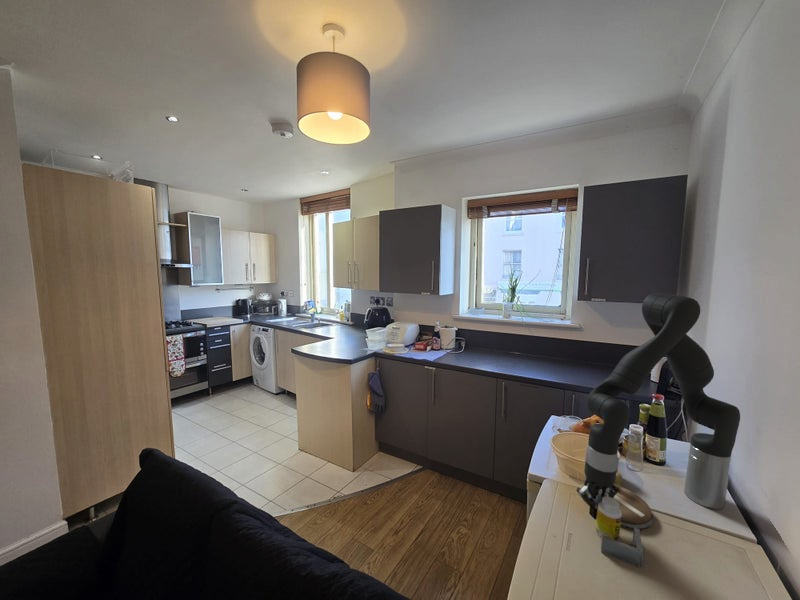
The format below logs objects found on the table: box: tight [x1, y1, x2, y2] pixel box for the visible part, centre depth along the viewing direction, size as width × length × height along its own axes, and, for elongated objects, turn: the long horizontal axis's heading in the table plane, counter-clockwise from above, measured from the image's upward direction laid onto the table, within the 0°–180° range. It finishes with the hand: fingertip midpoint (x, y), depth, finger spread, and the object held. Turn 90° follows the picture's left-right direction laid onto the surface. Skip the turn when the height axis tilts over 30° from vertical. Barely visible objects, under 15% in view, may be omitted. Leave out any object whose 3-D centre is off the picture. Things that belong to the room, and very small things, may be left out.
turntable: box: [610, 472, 652, 525], centre depth 97 cm, size 15×15×6 cm
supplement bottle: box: [595, 497, 622, 541], centre depth 88 cm, size 6×6×10 cm
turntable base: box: [620, 512, 654, 531], centre depth 98 cm, size 16×16×1 cm
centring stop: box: [600, 528, 644, 568], centre depth 82 cm, size 12×6×4 cm, turn 104°
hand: (594, 516), depth 92 cm, fingers closed
